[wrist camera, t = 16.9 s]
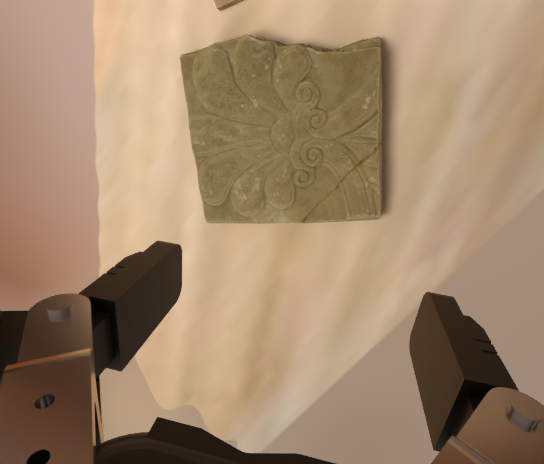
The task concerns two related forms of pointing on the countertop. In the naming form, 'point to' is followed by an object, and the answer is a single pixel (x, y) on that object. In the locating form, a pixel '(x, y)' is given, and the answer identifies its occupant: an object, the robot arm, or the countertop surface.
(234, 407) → the countertop surface
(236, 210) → the decorative tile
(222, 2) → the birch board
